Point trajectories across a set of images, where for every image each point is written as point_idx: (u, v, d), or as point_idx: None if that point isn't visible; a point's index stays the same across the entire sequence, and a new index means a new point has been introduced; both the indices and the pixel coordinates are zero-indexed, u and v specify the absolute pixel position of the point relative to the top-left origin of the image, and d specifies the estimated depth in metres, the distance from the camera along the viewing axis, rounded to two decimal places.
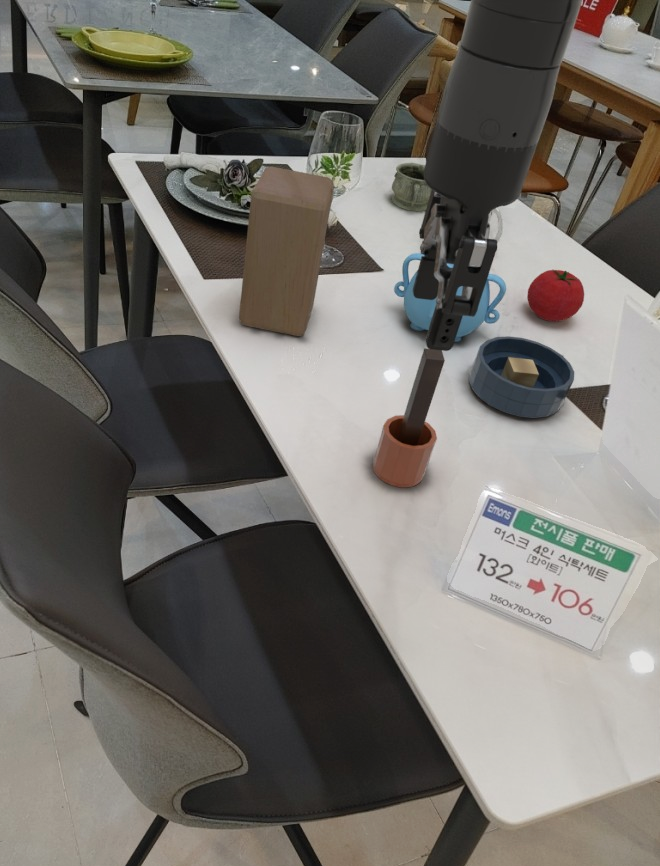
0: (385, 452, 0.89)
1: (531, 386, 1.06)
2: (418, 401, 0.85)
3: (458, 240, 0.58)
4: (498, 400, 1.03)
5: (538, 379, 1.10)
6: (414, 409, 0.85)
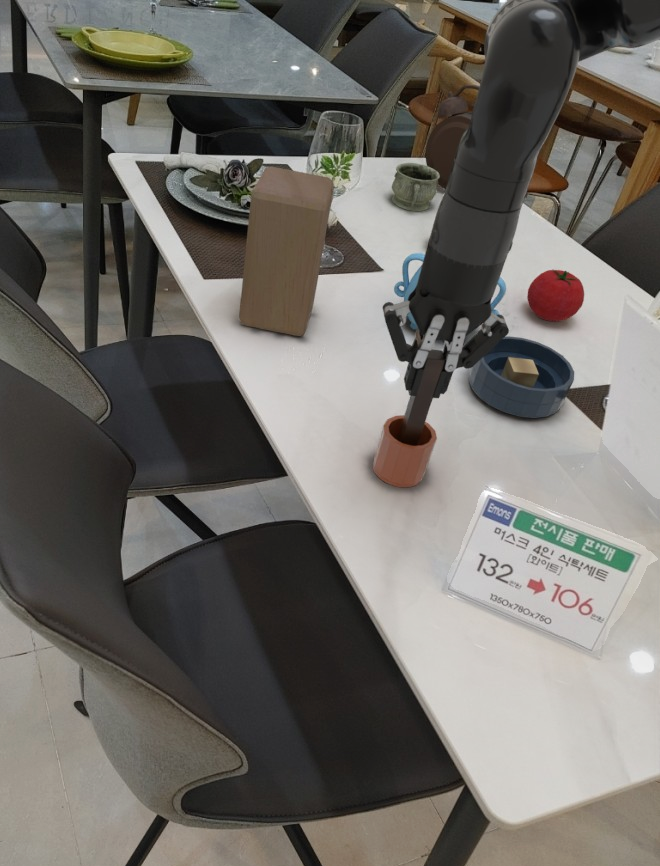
0: (385, 452, 0.89)
1: (531, 386, 1.06)
2: (418, 401, 0.85)
3: (487, 319, 0.78)
4: (498, 400, 1.03)
5: (538, 379, 1.10)
6: (414, 409, 0.85)
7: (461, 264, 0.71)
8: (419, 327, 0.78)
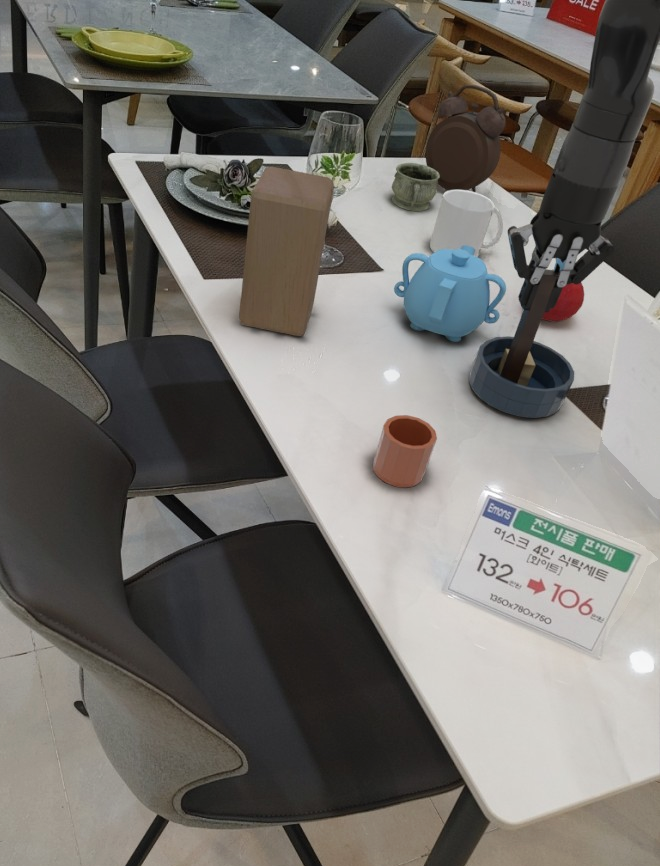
0: (385, 452, 0.89)
1: (528, 377, 1.08)
2: (531, 315, 0.99)
3: (597, 239, 0.93)
4: (498, 400, 1.03)
5: (538, 379, 1.10)
6: (527, 323, 1.00)
7: (584, 187, 0.86)
8: (539, 247, 0.93)
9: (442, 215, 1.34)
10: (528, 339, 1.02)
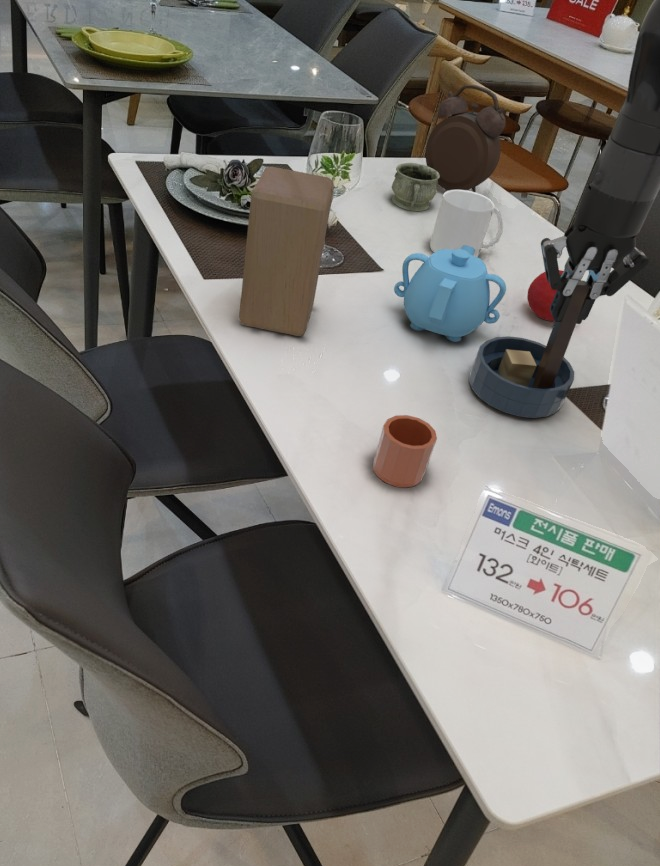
0: (385, 452, 0.89)
1: (529, 377, 1.08)
2: (563, 326, 0.99)
3: (631, 251, 0.92)
4: (498, 400, 1.03)
5: None
6: (560, 334, 0.99)
7: (621, 200, 0.85)
8: (573, 259, 0.93)
9: (442, 215, 1.34)
10: (560, 350, 1.01)
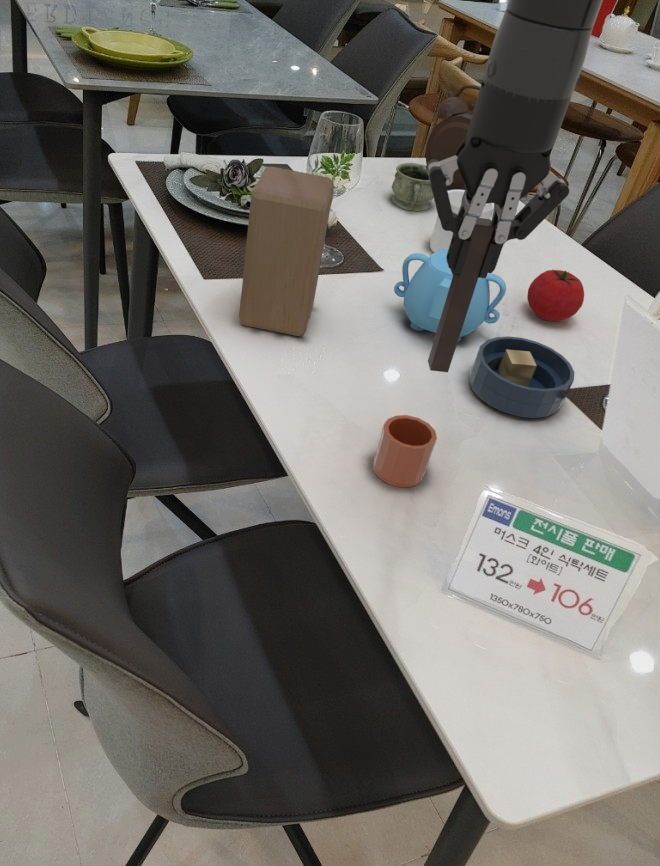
0: (385, 452, 0.89)
1: (529, 377, 1.08)
2: (462, 280, 0.76)
3: (545, 177, 0.69)
4: (498, 400, 1.03)
5: (538, 379, 1.10)
6: (458, 290, 0.76)
7: (522, 98, 0.62)
8: (468, 187, 0.69)
9: None
10: (460, 311, 0.78)
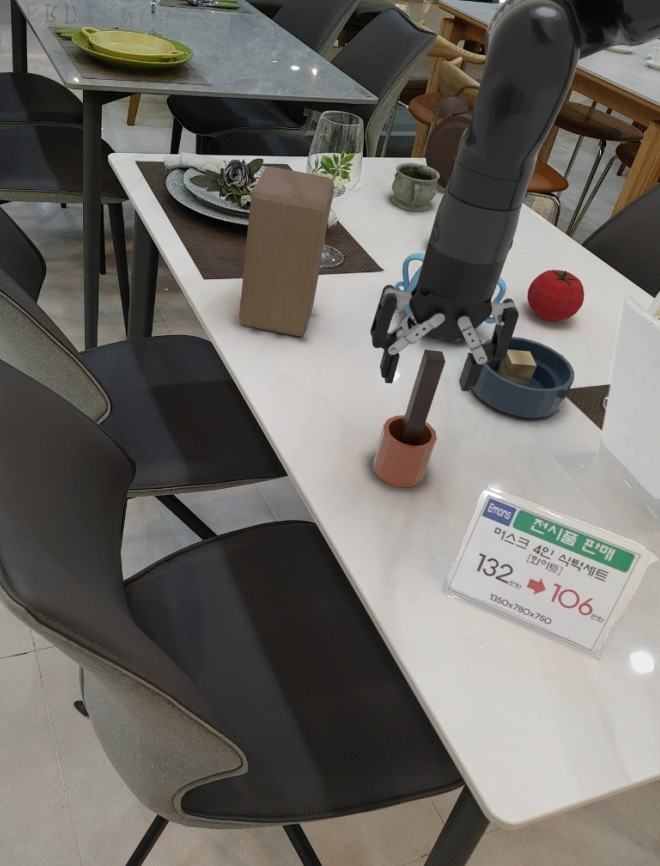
0: (385, 452, 0.89)
1: (529, 377, 1.08)
2: (418, 402, 0.84)
3: (488, 317, 0.77)
4: (498, 400, 1.03)
5: (538, 379, 1.10)
6: (415, 410, 0.85)
7: (461, 262, 0.70)
8: None
9: None
10: (417, 426, 0.87)
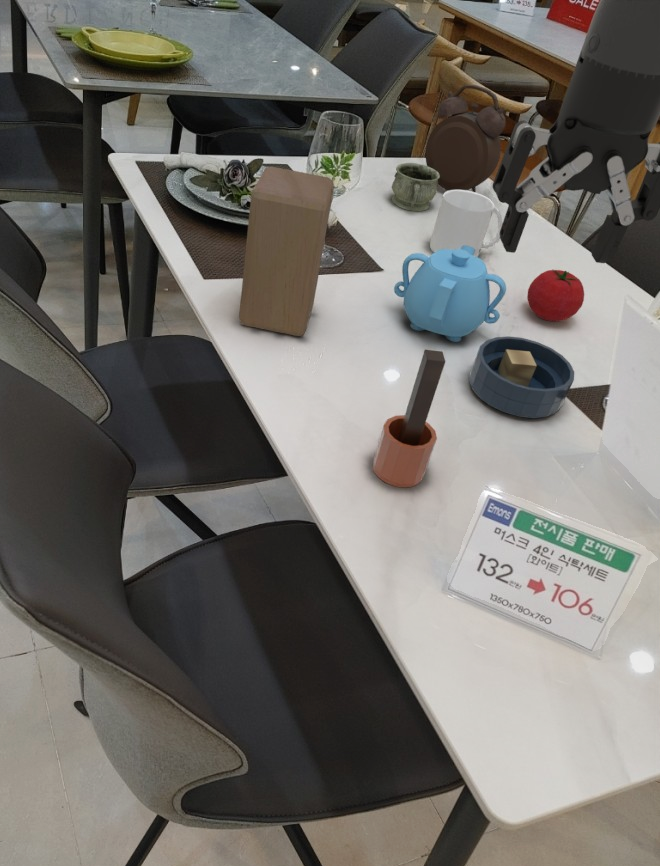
0: (385, 452, 0.89)
1: (529, 377, 1.08)
2: (418, 402, 0.84)
3: None
4: (498, 400, 1.03)
5: (538, 379, 1.10)
6: (415, 410, 0.85)
7: (628, 74, 0.57)
8: None
9: (442, 215, 1.34)
10: (417, 426, 0.87)
